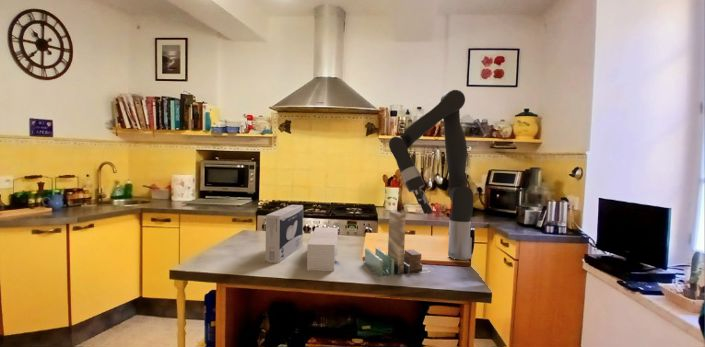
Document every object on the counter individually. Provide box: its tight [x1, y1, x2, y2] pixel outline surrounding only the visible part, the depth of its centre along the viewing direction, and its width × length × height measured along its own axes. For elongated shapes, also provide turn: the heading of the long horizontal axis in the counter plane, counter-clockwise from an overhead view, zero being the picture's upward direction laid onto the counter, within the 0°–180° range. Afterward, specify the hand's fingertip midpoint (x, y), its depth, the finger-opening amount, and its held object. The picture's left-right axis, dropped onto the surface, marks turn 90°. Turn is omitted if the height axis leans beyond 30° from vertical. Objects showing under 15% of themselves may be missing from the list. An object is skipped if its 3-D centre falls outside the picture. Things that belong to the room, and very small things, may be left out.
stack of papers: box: [306, 226, 339, 272], centre depth 162 cm, size 32×11×11 cm, turn 0°
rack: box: [363, 247, 433, 277], centre depth 148 cm, size 22×17×8 cm
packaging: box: [264, 204, 304, 264], centre depth 170 cm, size 30×6×20 cm, turn 168°
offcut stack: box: [404, 249, 423, 270], centre depth 149 cm, size 5×9×6 cm, turn 17°
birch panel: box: [387, 210, 406, 272], centre depth 147 cm, size 2×10×22 cm, turn 17°
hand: (428, 213), depth 157 cm, fingers open, 8 cm apart
